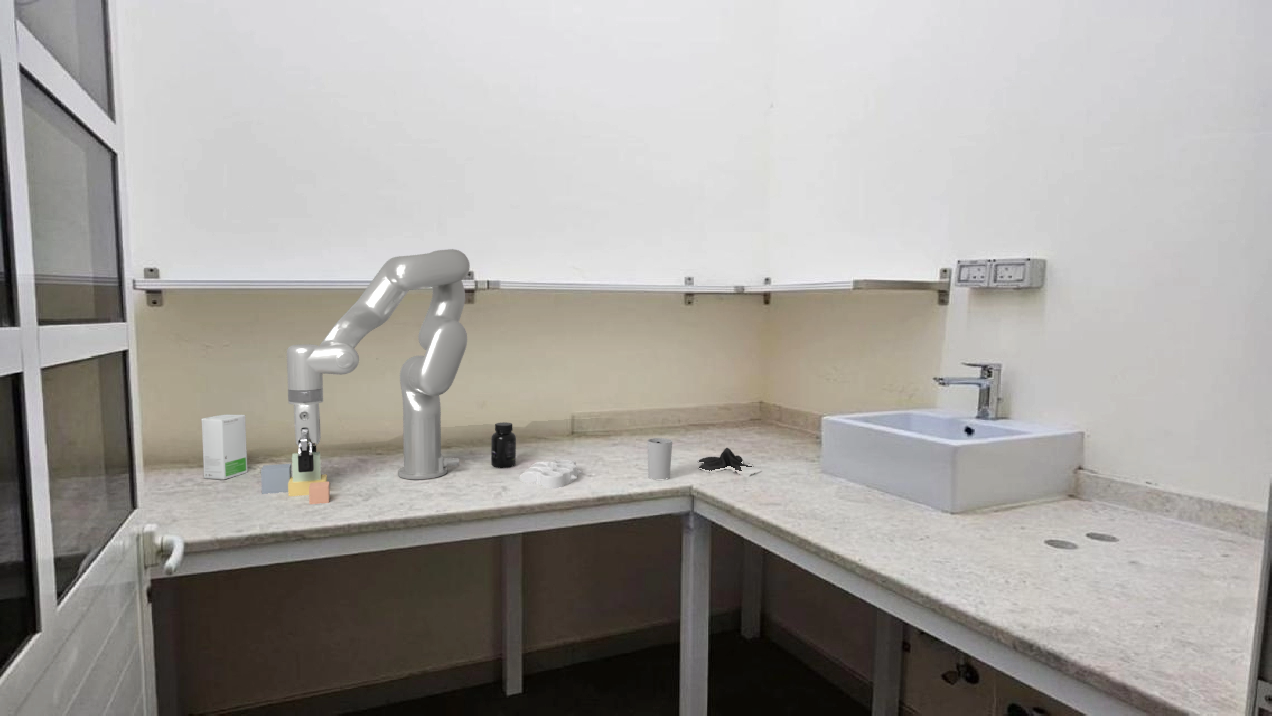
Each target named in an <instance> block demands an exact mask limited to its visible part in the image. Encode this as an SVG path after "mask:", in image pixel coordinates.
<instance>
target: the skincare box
mask: <svg viewBox="0 0 1272 716" xmlns="http://www.w3.org/2000/svg"><path fill="white" fill-rule="evenodd" d="M246 426H247V425H246V415H245V414H220V415H214V416H207V417H204V418H201V431H202V432H201V434H202V435H201V437H202V439H201V440H202V453H203V454H202V458H203V479H207V480H227V479H230V478H233V477H237V476H240V475H241V476H242V475H243V474H247V473H248V455H247V452H248V451H247V428H246Z"/></svg>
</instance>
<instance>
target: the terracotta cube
mask: <svg viewBox="0 0 1272 716" xmlns="http://www.w3.org/2000/svg"><path fill="white" fill-rule="evenodd" d="M330 491H331V489H330V481H327V482H317V483H310V486H309V495H308V499H309V500H308V501H309V502H308V504H310V505H317V504H319V505H320V503H321V504H329V503H330V499H331V495H330V493H331V492H330Z"/></svg>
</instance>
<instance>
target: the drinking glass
mask: <svg viewBox="0 0 1272 716" xmlns="http://www.w3.org/2000/svg"><path fill="white" fill-rule="evenodd" d="M672 450H673V440H672V439H669V438H662V437H654V438H649V439H647V472H648V473H647V474H648V475H647V476H648V479H650V478H652V479H666V478H669V477H670V478H671V465H672V464H671V463H672ZM670 478H669V479H670ZM652 479H651V480H652Z"/></svg>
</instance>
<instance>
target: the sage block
mask: <svg viewBox="0 0 1272 716" xmlns="http://www.w3.org/2000/svg"><path fill="white" fill-rule="evenodd" d="M291 454H292V456H291V462H292V463H291V471H292V477H293V482H302V481H312V480H321V475H322V473H321V451H316V452H312V454H313V462H314V470H313V471H312V472H299V471H298V455H299V452H298V453H297V452H295V453H291Z"/></svg>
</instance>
